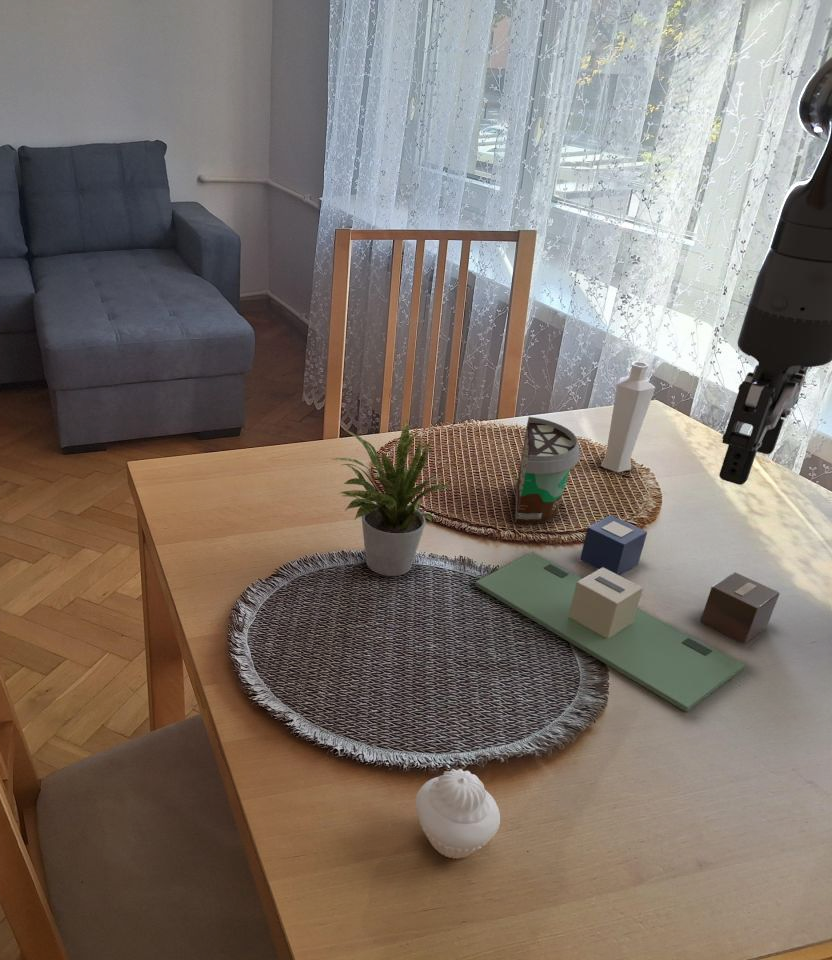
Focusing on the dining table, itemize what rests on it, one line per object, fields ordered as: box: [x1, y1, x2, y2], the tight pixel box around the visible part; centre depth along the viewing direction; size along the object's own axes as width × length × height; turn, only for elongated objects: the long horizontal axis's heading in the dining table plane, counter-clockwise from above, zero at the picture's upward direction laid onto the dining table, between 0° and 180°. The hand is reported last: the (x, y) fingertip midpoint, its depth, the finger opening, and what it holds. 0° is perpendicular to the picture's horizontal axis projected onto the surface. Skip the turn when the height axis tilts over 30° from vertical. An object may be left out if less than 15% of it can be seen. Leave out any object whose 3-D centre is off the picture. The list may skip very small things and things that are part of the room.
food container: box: [514, 416, 580, 525], centre depth 107 cm, size 12×6×10 cm, turn 161°
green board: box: [474, 551, 745, 713], centre depth 89 cm, size 10×24×1 cm, turn 34°
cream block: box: [569, 567, 644, 639], centre depth 88 cm, size 4×4×5 cm
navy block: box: [579, 514, 648, 576], centre depth 98 cm, size 4×4×5 cm
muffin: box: [414, 768, 501, 860], centre depth 65 cm, size 6×6×7 cm
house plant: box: [332, 419, 453, 577], centre depth 97 cm, size 14×14×16 cm
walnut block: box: [699, 571, 781, 645], centre depth 88 cm, size 4×4×5 cm
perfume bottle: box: [600, 360, 656, 473], centre depth 115 cm, size 5×4×15 cm
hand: (746, 465), depth 83 cm, fingers open, 8 cm apart
